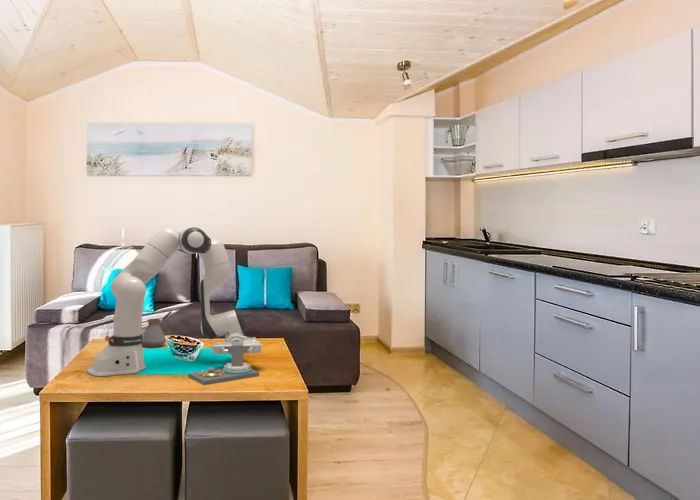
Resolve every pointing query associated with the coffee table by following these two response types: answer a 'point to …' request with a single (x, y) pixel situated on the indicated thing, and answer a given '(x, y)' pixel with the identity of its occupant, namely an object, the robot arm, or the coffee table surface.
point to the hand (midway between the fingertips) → (237, 352)
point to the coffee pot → (154, 333)
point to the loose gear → (237, 359)
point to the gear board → (220, 375)
